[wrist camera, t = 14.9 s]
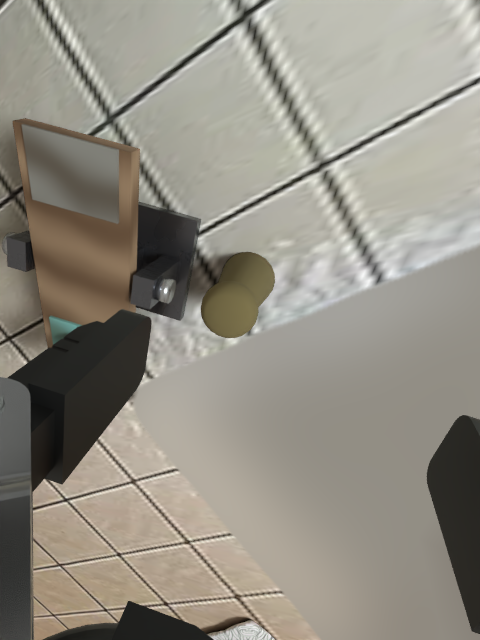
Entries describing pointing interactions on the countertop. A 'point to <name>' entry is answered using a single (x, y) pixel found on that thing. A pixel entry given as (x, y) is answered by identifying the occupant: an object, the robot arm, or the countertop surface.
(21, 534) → the robot arm
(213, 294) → the olive brown waisted cylinder
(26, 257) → the seesaw stand
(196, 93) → the countertop surface
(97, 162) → the beam
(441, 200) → the countertop surface
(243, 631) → the cookie jar
